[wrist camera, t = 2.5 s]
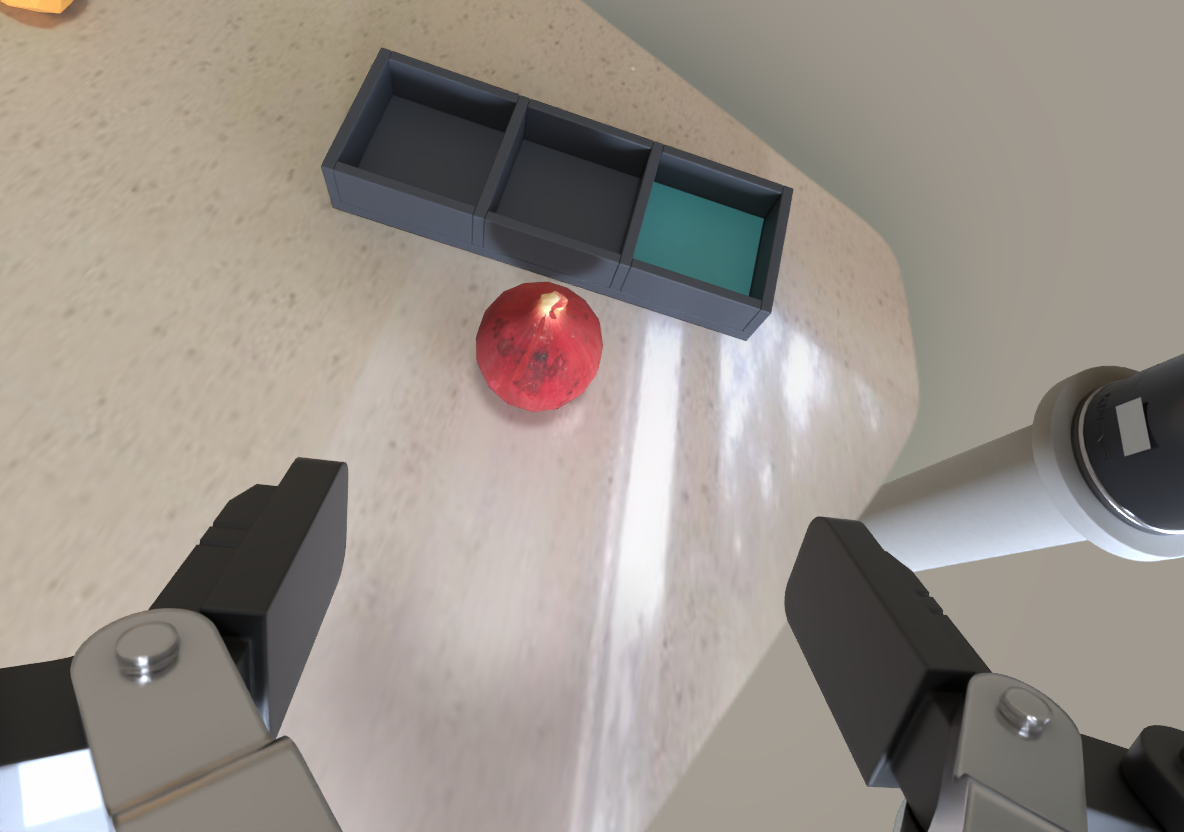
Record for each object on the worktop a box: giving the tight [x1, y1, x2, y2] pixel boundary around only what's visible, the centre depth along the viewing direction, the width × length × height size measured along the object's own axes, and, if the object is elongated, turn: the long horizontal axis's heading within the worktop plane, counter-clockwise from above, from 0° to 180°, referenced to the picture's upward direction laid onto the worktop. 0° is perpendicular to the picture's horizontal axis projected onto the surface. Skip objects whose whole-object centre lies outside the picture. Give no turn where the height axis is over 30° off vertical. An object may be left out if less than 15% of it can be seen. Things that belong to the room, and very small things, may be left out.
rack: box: [321, 48, 793, 340], centre depth 37 cm, size 23×8×3 cm, turn 75°
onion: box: [476, 282, 603, 412], centre depth 31 cm, size 6×6×8 cm
